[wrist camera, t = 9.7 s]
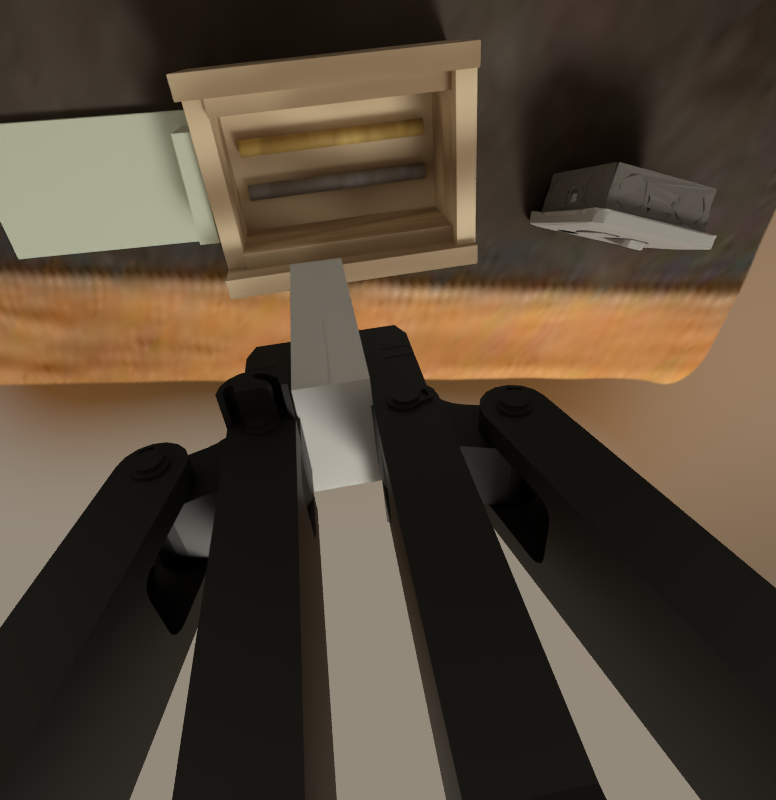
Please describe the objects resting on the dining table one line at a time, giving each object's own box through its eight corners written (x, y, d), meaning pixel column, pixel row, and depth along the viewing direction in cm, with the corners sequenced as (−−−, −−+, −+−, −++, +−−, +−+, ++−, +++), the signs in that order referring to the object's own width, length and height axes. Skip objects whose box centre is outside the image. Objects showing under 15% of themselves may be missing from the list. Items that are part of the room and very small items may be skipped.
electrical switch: (522, 222, 40) (584, 250, 32) (546, 150, 37) (619, 160, 30) (623, 244, 42) (703, 276, 34) (651, 178, 40) (744, 195, 32)
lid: (-37, 125, 31) (-80, 136, 27) (199, 107, 32) (188, 116, 29) (24, 254, 36) (-6, 278, 32) (228, 234, 37) (222, 255, 33)
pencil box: (188, 68, 31) (166, 74, 25) (446, 40, 32) (480, 39, 26) (239, 260, 38) (231, 299, 32) (449, 231, 39) (477, 263, 33)
